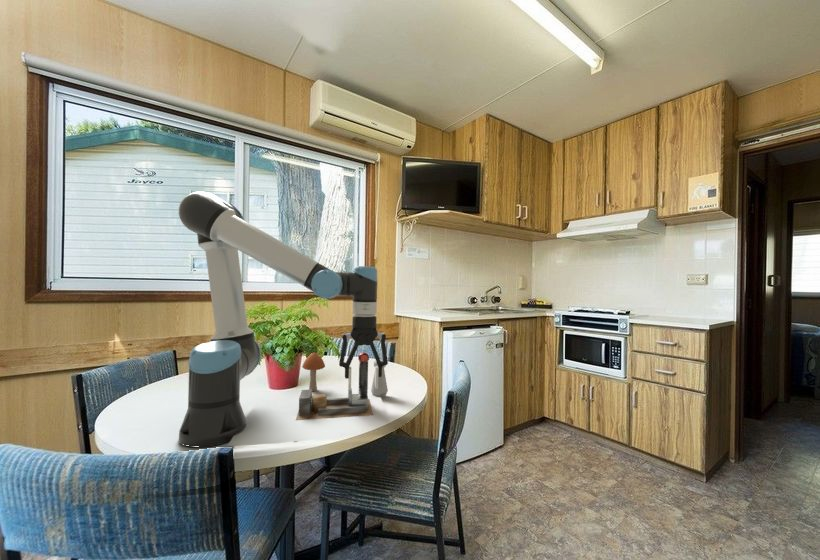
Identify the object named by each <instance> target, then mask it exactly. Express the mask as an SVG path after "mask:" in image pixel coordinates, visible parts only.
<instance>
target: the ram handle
mask: <svg viewBox="0 0 820 560" xmlns="http://www.w3.org/2000/svg"><path fill="white" fill-rule="evenodd" d="M369 360H370V355H369V353H367V352H365V351H364V352H360V353H359V355H358V393H353V388H352V387H351V390H348V389H347V393H348V394H347V398H348V407H351V406H366V409H368V403H369V400H370V398H369V396H368V393H369V392H368V391H369V390H368V389H369V386H368V385H369V383H368V381H369Z"/></svg>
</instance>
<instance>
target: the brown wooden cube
mask: <svg viewBox="0 0 820 560" xmlns="http://www.w3.org/2000/svg"><path fill="white" fill-rule="evenodd" d="M327 396H328V395H327V394H324V393H318V394H313V395H312V411H313V412H318V409H319V408H326V406H327V399H328V398H327Z"/></svg>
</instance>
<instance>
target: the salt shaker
mask: <svg viewBox="0 0 820 560" xmlns="http://www.w3.org/2000/svg"><path fill="white" fill-rule="evenodd" d="M380 361H383V359H380ZM375 366H378V364H377V362H376V359H375V360H374V362H373V367H374V368H375ZM386 366H387V365H384V366H383V367H382V376H381V377H378V389H376V388H375V371H374V373H373V378H372V383H371V388H370V392H371V394H372V395H373V396H375V397H380V399H382V398H383V399H385V398H386V396H387V394H388V392H389V389H388V384H387V377H386V372H385V371H386V370H385V368H386Z"/></svg>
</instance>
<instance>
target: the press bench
mask: <svg viewBox="0 0 820 560" xmlns="http://www.w3.org/2000/svg"><path fill="white" fill-rule="evenodd" d="M312 394H313V392H312V390H309V389H302V390H301V392H300V395H299V398H298V411H297V414H296V418H295V421H303V420H319V419H334V418H335V419H337V418H349V417H362V416H363V417H365V416H367V417H369V416H374V415H375V414H374V411H373V408H372V404H371V400H370V399H369V403H368V409H366V406H351V407H348V397H339V398H327V406H326V408H319V409H318V412H313V411H312V396H313V395H312Z"/></svg>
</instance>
